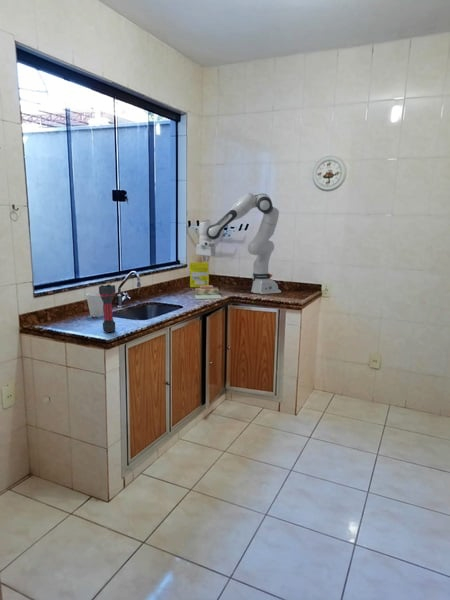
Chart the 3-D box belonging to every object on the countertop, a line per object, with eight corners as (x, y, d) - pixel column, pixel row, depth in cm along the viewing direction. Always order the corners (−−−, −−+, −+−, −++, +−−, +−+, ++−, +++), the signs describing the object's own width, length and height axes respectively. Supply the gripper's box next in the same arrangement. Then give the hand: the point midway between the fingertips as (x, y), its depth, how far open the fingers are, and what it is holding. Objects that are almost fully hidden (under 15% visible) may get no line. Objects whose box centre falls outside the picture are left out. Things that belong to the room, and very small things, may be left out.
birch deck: (216, 292, 308) (216, 287, 307) (218, 295, 298) (218, 289, 297) (195, 293, 305) (195, 288, 305) (196, 295, 296) (196, 290, 295)
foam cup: (86, 315, 234) (84, 293, 232) (102, 314, 239) (101, 291, 236) (90, 319, 226) (88, 296, 224) (106, 317, 231) (105, 294, 228)
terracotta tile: (212, 287, 305) (212, 285, 305) (213, 289, 300) (213, 286, 299) (200, 288, 304) (200, 285, 304) (200, 289, 298) (200, 286, 298)
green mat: (219, 295, 297) (219, 294, 297) (222, 298, 285) (222, 298, 285) (195, 295, 295) (195, 295, 295) (196, 299, 282) (196, 298, 282)
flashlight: (110, 335, 195) (108, 287, 191) (97, 333, 198) (94, 286, 194) (121, 331, 202) (118, 284, 197) (108, 329, 205) (106, 283, 201)
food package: (208, 287, 334) (208, 262, 330) (208, 287, 333) (208, 262, 329) (190, 286, 336) (189, 262, 332) (190, 287, 335) (189, 262, 331)
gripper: (193, 242, 310) (194, 260, 312) (209, 243, 294) (209, 262, 296) (200, 242, 313) (201, 260, 316) (216, 243, 297) (216, 262, 300)
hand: (205, 261), depth 306 cm, fingers open, 3 cm apart
